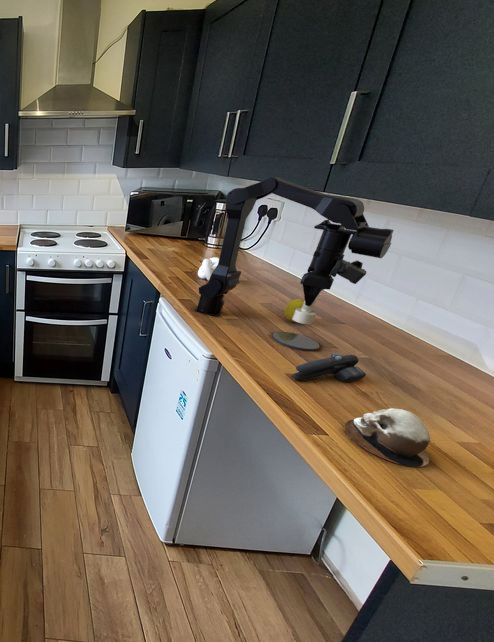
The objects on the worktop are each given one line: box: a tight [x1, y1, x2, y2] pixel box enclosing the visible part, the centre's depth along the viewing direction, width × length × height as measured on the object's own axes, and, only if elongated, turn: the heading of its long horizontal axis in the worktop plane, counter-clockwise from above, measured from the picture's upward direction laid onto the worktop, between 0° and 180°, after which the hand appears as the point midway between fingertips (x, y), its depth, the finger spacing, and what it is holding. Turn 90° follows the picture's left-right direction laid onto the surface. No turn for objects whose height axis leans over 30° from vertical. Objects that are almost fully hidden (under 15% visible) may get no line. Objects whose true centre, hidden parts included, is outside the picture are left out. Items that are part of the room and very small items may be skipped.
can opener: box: [291, 352, 367, 383], centre depth 96 cm, size 18×7×6 cm, turn 100°
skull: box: [344, 407, 431, 468], centre depth 75 cm, size 12×10×10 cm
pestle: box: [292, 295, 319, 325], centre depth 110 cm, size 5×5×12 cm
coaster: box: [271, 331, 320, 352], centre depth 115 cm, size 11×11×1 cm
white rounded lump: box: [197, 256, 220, 282], centre depth 164 cm, size 11×12×9 cm
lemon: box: [284, 298, 304, 323], centre depth 127 cm, size 6×6×8 cm
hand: (308, 304), depth 110 cm, fingers closed on pestle, 2 cm apart
